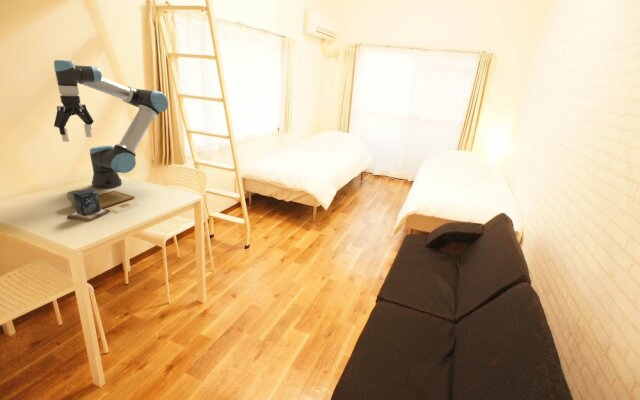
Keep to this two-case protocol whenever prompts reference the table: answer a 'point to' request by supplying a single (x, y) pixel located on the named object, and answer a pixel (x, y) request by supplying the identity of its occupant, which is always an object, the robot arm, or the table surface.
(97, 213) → the board
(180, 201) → the table surface
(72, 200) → the flower pot
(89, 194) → the box
